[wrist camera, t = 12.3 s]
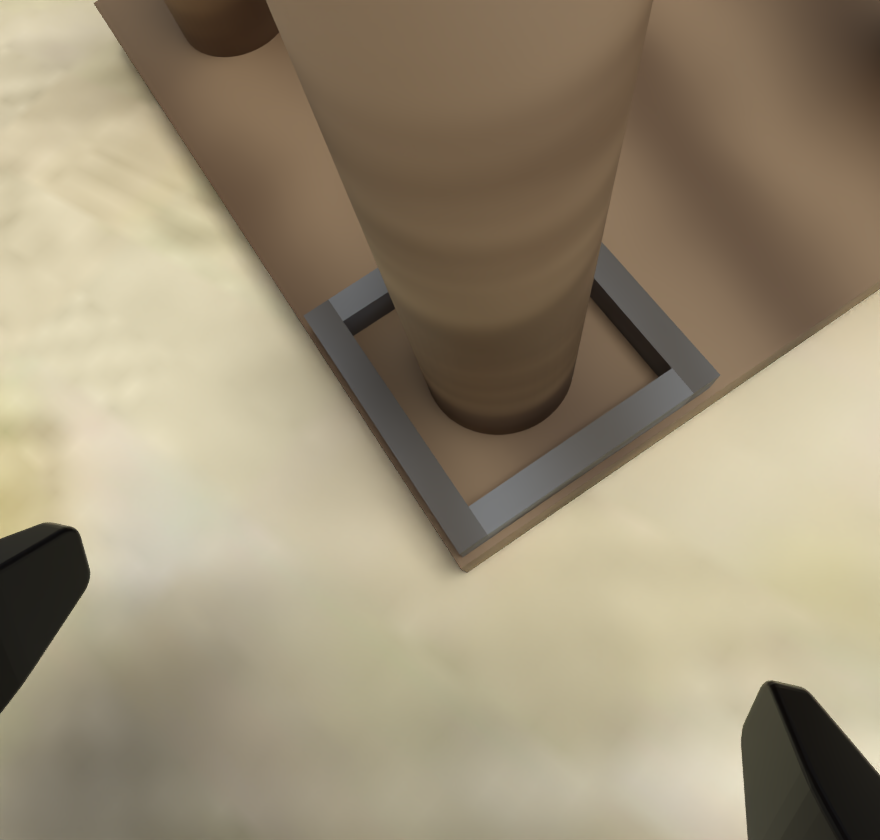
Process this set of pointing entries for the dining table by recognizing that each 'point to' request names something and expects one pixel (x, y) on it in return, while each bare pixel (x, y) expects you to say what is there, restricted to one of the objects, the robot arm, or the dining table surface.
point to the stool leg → (477, 174)
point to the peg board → (622, 248)
